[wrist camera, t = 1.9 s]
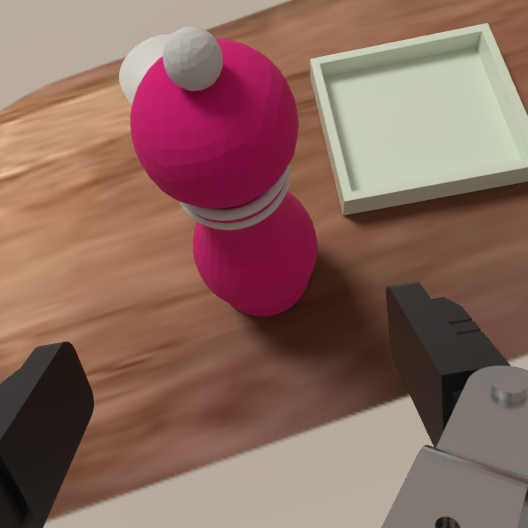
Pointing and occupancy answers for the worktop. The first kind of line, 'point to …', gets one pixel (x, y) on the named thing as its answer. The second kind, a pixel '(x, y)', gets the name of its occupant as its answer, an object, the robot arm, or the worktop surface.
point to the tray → (420, 119)
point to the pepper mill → (228, 166)
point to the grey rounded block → (140, 63)
